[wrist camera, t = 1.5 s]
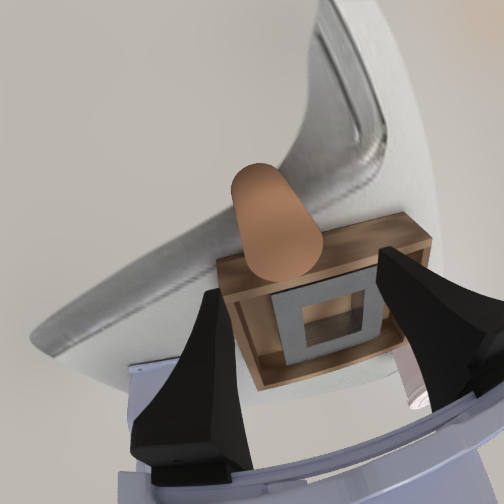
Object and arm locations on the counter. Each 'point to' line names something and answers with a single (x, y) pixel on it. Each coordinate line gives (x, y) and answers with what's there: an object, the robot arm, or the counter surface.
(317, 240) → the peg
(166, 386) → the robot arm
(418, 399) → the smoothie
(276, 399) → the counter surface
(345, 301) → the socket box
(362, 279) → the socket plate
